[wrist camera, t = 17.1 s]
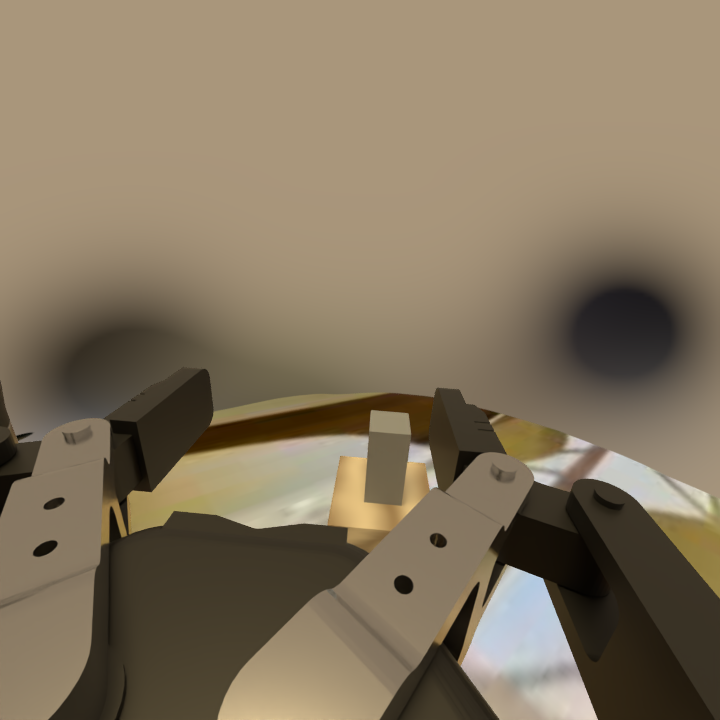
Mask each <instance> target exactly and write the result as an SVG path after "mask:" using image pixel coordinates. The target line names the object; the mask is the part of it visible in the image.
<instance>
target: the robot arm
mask: <svg viewBox="0 0 720 720" xmlns="http://www.w3.org/2000/svg"><path fill="white" fill-rule="evenodd" d="M212 417H213V402H212V393H211V384H210V377H209V373H208V371H207V370H206V369H198V368H187V367H183V368H181V369H180V370H178V371H177V372H175V373H174V374H173V375H171V376H170V377H168V378H167V379H165V380H164V381H161V382H159V383H156V384H154V385H151V386H150V387H148V388H147V389H145V390H144V391H143V392H141V393H140V395H137V396H136V397H134V398H132V399H131V401H128V402H127V403H125V404H124V405H122V406H121V407H120V408H118V409H117V410H115V411H114V412H113V413H111V414H109V415H108V416H107V417H105V418H104V419H99V418H89V419H82V420H77V421H73V422H70V423H67V424H64V425H61V426H59V427H57V428H55V429H53V430H52V431H50V432H49V433H48V434H46V435H45V436H44V438H43V440H42V441H35V442H25V443H18V440H17V438H16V435H15V432H14V430H13V427H12V424H11V422H10V419H9V416H8V414H7V411H6V408H5V404H4V397H3V392H2V386H1V382H0V720H499V718H498V717H497V716H496V714H495V713H494V712H493V710H492V709H491V707H490V706H489V705H488V703H487V702H486V701H485V699H484V698H483V697H482V695H481V694H480V692H479V691H478V690H477V688H476V687H475V686H474V684H473V683H472V682H471V680H470V679H469V677H468V676H467V675H466V673H465V672H464V671H463V669H462V668H461V664H462V662H463V660H464V658H465V655H466V653H467V651H468V649H469V646H470V644H471V641H472V639H473V636H474V633H475V631H476V628H477V626H478V624H479V621H480V619H481V617H482V615H483V613H484V611H485V609H486V607H487V605H488V603H489V602H490V600H491V598H492V596H493V594H494V592H495V590H496V588H497V586H498V584H499V582H500V580H501V578H502V576H503V574H504V572H505V570H506V568H507V566H508V565H509V566H512V567H515V568H517V569H520V570H522V571H525V572H528V573H530V574H533V575H536V576H538V577H541V578H543V579H544V582H545V585H546V587H547V590H548V592H549V595H550V598H551V600H552V603H553V605H554V608H555V610H556V613H557V616H558V618H559V621H560V623H561V626H562V628H563V631H564V634H565V636H566V639H567V641H568V644H569V646H570V649H571V652H572V654H573V657H574V659H575V662H576V664H577V667H578V670H579V672H580V675H581V677H582V680H583V682H584V685H585V688H586V690H587V693H588V695H589V698H590V700H591V703H592V706H593V708H594V711H595V713H596V716H597V718H598V720H720V599H719V597H718V596H717V595H716V594H715V593H714V591H713V590H712V589H711V588H710V587H709V586H708V584H707V583H706V582H705V581H704V580H703V578H702V577H701V576H700V575H699V574H698V572H697V571H696V570H695V569H694V568H693V566H692V565H691V564H690V563H689V562H688V561H687V559H686V558H685V557H684V556H683V555H682V553H681V552H680V551H679V550H678V549H677V547H676V546H675V545H674V544H673V543H672V542H671V540H670V539H669V538H668V537H667V536H666V534H665V533H664V532H663V531H662V530H661V528H660V527H659V526H658V525H657V524H656V522H655V521H654V520H653V519H652V518H651V517H650V515H649V514H648V513H647V512H646V511H645V509H644V508H643V507H642V506H641V505H640V504H639V503H638V501H637V500H635V499H634V498H633V497H632V496H631V495H629V494H628V493H626V492H625V491H623V490H621V489H619V488H618V487H616V486H613V485H611V484H609V483H606V482H603V481H599V480H594V479H580V480H578V481H576V482H575V483H574V484H573V486H572V489H571V491H570V492H567V491H563V490H560V489H557V488H553V487H550V486H547V485H544V484H541V483H538V482H536V481H534V476H533V474H532V472H531V470H530V469H529V468H528V467H527V466H526V465H525V464H524V463H522V462H521V461H519V460H518V459H516V458H513V457H511V456H509V455H507V454H506V452H505V450H504V448H503V446H502V444H501V442H500V441H499V439H498V437H497V435H496V433H495V432H494V429H493V428H492V426H491V424H490V422H489V420H488V418H487V416H486V415H485V413H484V412H483V411H481V410H480V409H479V408H478V407H476V406H475V405H469V404H466V403H465V401H464V399H463V396H462V394H461V392H460V390H459V389H446V388H437V389H436V392H435V396H434V402H433V409H432V415H431V422H430V428H429V445H430V450H431V455H432V459H433V464H434V469H435V474H436V479H437V483H438V488H437V487H435V488H433V489H432V490H430V491H429V492H428V493H427V494H426V495H425V496H424V498H423V499H422V500H421V501H420V502H419V503H418V504H417V505H416V506H415V507H414V508H413V509H412V510H411V511H410V512H409V513H408V514H407V515H406V516H405V517H404V518H403V519H402V520H401V521H400V522H399V523H398V524H397V525H396V526H395V527H394V528H393V529H392V530H391V532H390V533H389V534H388V535H387V536H386V537H385V538H384V539H383V540H382V541H381V542H380V543H379V544H378V545H377V546H376V547H375V548H374V549H373V550H372V551H371V552H370V553H368V552H367V551H365V550H363V549H361V548H359V547H357V546H355V545H353V544H350V543H347V535H348V528H346V527H335V526H325V525H314V524H297V525H288V526H280V527H271V528H263V529H254V528H251V527H248V526H245V525H242V524H240V523H237V522H234V521H231V520H228V519H226V518H223V517H220V516H217V515H209V514H199V513H188V512H178V511H174V512H173V513H172V515H171V516H170V518H169V519H168V520H167V522H166V523H165V524H164V526H158V527H153V528H148V529H145V530H141V531H138V532H135V533H132V528H131V511H130V502H129V498H128V494H129V493H130V492H131V491H132V490H135V491H145V492H152V491H153V490H154V489H155V488H156V486H157V485H158V484H159V483H160V482H161V481H162V479H163V478H164V477H165V476H166V475H167V474H168V472H169V471H170V470H171V469H172V468H173V467H174V466H175V464H176V463H177V462H178V461H179V460H180V459H181V457H182V456H183V455H184V454H185V453H186V452H187V451H188V449H189V448H190V447H191V446H192V445H193V444H194V442H195V441H196V440H197V439H198V438H199V437H200V436H201V434H202V433H203V432H204V431H205V430H206V429H207V427H208V426H209V425H210V423H211V421H212Z"/></svg>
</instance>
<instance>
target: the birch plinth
mask: <svg viewBox="0 0 720 720" xmlns="http://www.w3.org/2000/svg"><path fill="white" fill-rule="evenodd" d="M366 468H367V458H357V457H346V456H340V461H339V466H338V471H337V477H336V482H335V487H334V493H333V498H332V504H331V509H330V514H329V520H328V526H335V527H346V528H348V535H347V543H350V544H353V545H355V546H357V547H359V548H361V549H363V550H365V551H367V552H368V553H370V552H371V551H372V550H373V549H374V548H375V547H376V546H377V545H378V544H379V543H380V542H381V541H382V540H383V539H384V538H385V537H386V536H387V535H388V534H389V533H390V532H391V530H392V529H393V528H394V527H395V526H396V525H397V524H398V523H399V522H400V521H401V520H402V519H403V518H404V517H405V516H406V515H407V514H408V513H409V512H410V511H411V510H412V509H413V508H414V507H415V506H416V505H417V504H418V503H419V502H420V501H421V500H422V499H423V498H424V496H425V495H426V494H427V493H428V492H429V491H430V490H429V484H428V478H427V473H426V467H425V463H414V462H407V469H406V476H405V484H404V491H403V499H402V506H398V505H387V504H377V503H367V502H364V494H365V481H366Z"/></svg>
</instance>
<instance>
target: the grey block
mask: <svg viewBox="0 0 720 720" xmlns="http://www.w3.org/2000/svg"><path fill="white" fill-rule="evenodd" d="M410 439H411V431H410V423H409V415H408V413H397V412H385V411H373V410H371V418H370V430H369V443H368V455H367V468H366V481H365V494H364V502H367V503H377V504H387V505H398V506H402V499H403V491H404V484H405V476H406V469H407V461H408V454H409V446H410Z"/></svg>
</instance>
